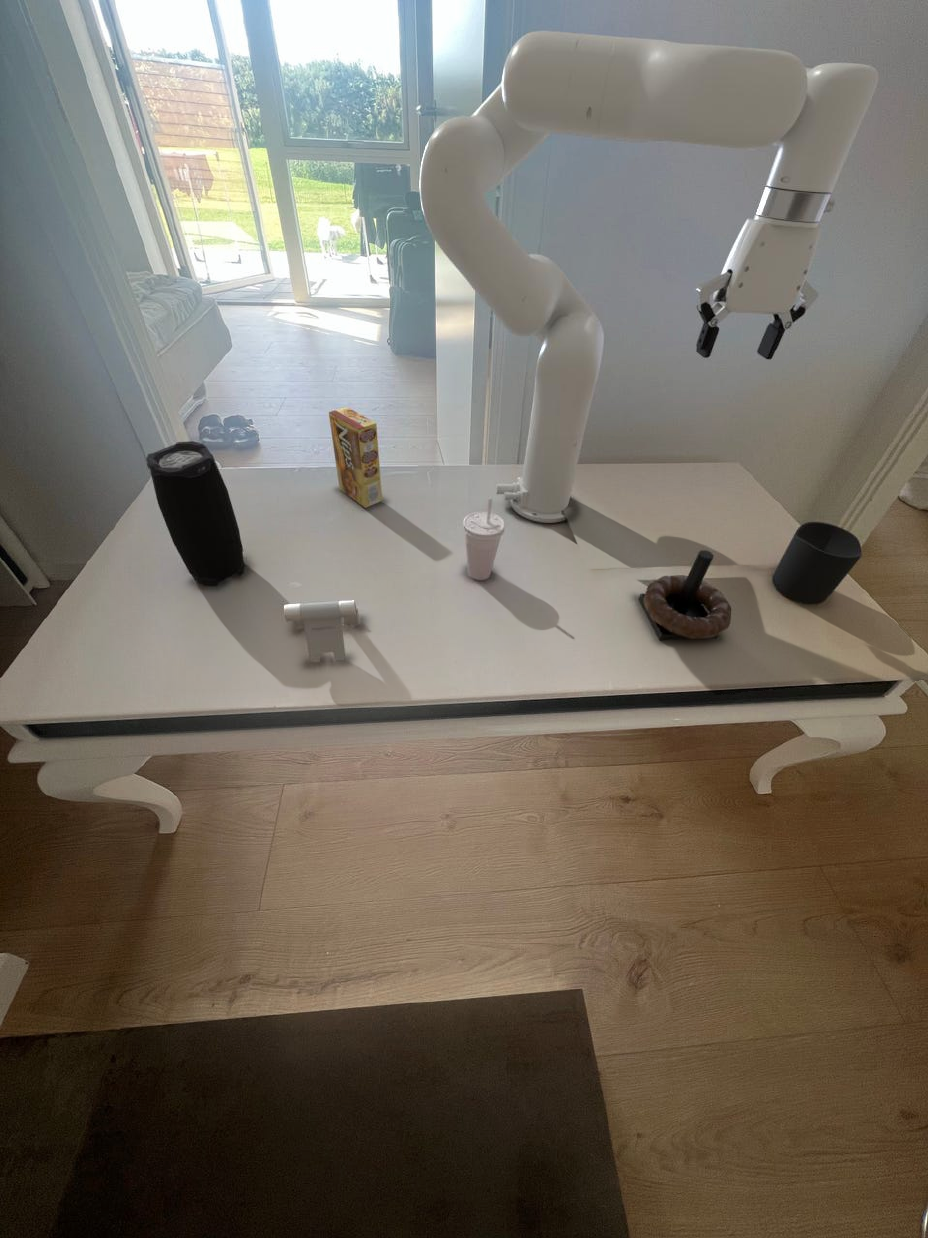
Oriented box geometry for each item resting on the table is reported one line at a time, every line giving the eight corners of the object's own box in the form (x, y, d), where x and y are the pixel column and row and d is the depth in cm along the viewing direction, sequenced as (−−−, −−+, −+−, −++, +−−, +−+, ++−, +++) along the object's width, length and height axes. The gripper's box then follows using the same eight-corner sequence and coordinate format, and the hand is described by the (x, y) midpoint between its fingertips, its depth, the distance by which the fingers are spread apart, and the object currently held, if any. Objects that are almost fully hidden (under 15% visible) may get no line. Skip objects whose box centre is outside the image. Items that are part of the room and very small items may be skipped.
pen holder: (841, 599, 85) (879, 550, 78) (800, 613, 82) (835, 563, 75) (796, 565, 91) (827, 517, 84) (756, 576, 88) (784, 527, 81)
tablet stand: (359, 618, 76) (354, 574, 70) (360, 659, 70) (354, 614, 65) (297, 622, 75) (287, 577, 69) (294, 664, 69) (282, 619, 63)
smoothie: (495, 588, 82) (505, 512, 73) (455, 581, 83) (460, 505, 73) (501, 564, 87) (511, 489, 77) (463, 557, 88) (469, 483, 78)
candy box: (383, 501, 99) (378, 422, 88) (365, 509, 96) (357, 429, 86) (355, 482, 103) (347, 405, 92) (337, 490, 101) (327, 411, 90)
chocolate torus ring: (660, 644, 74) (667, 629, 72) (630, 587, 83) (636, 572, 81) (741, 640, 75) (750, 626, 73) (703, 584, 84) (711, 570, 82)
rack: (659, 640, 76) (688, 575, 68) (638, 599, 83) (662, 535, 74) (716, 638, 77) (753, 574, 69) (691, 597, 84) (722, 534, 75)
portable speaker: (178, 587, 78) (127, 468, 65) (205, 550, 85) (163, 435, 72) (234, 592, 78) (195, 474, 65) (257, 555, 85) (225, 440, 71)
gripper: (835, 208, 68) (774, 348, 80) (711, 200, 66) (667, 345, 78) (873, 216, 63) (801, 365, 75) (740, 208, 61) (688, 363, 73)
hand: (733, 355), depth 77 cm, fingers open, 9 cm apart
